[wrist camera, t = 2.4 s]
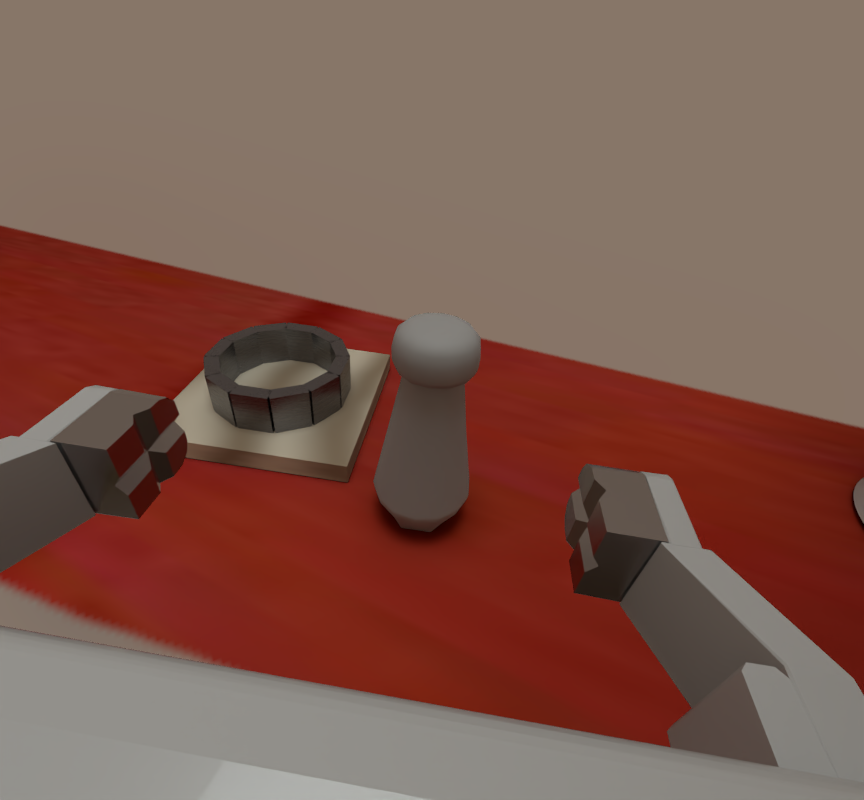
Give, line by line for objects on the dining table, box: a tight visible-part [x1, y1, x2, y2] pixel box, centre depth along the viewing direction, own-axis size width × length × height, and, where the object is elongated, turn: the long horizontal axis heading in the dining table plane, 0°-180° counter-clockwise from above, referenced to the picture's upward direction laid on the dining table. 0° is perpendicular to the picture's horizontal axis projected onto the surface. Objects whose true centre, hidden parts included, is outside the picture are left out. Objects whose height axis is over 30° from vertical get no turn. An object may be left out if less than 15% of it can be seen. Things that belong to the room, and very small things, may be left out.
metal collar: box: [204, 323, 351, 433], centre depth 34 cm, size 10×10×3 cm
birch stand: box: [173, 349, 390, 482], centre depth 35 cm, size 14×14×2 cm
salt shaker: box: [373, 313, 481, 532], centre depth 25 cm, size 6×6×13 cm
